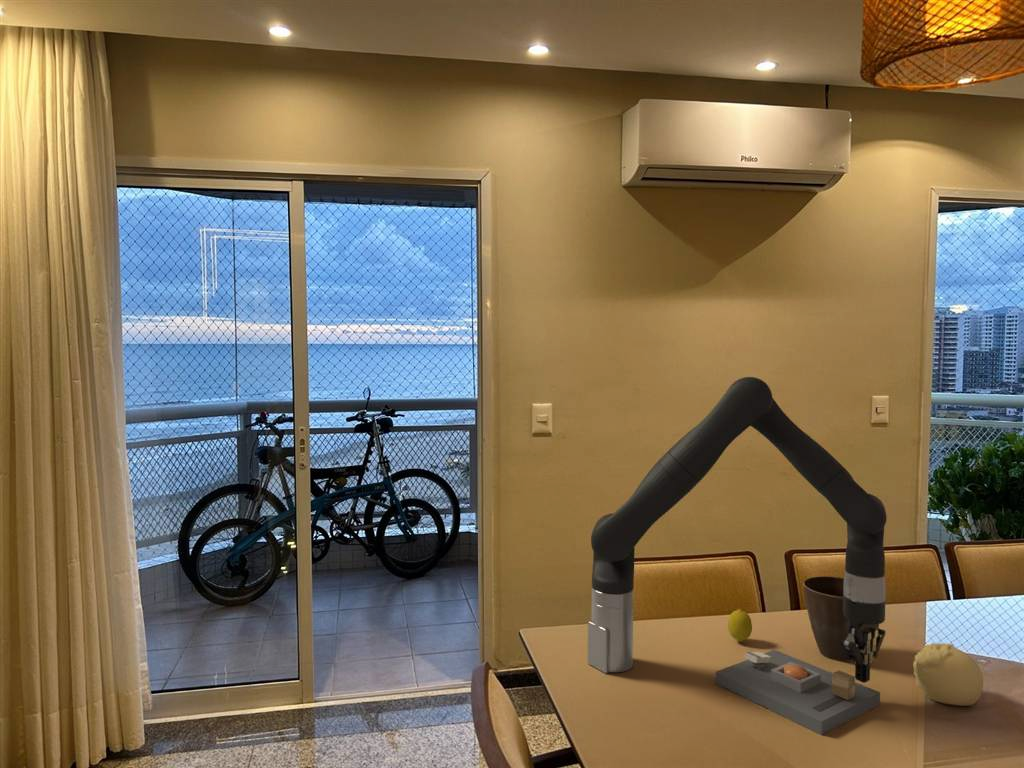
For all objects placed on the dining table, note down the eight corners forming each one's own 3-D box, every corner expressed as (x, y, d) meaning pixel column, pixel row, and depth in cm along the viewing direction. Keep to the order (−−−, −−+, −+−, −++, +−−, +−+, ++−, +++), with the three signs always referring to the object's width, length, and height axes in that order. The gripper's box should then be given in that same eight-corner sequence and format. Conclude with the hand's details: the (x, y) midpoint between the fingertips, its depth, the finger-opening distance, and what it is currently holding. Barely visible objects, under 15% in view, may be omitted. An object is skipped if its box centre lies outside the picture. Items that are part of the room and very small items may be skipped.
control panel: (821, 735, 125) (821, 710, 125) (715, 683, 145) (715, 662, 145) (879, 704, 136) (880, 682, 136) (774, 660, 156) (774, 641, 156)
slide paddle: (847, 700, 132) (847, 679, 132) (831, 693, 135) (832, 673, 135) (854, 696, 134) (854, 676, 134) (838, 690, 136) (839, 670, 136)
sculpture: (917, 679, 147) (918, 629, 147) (985, 697, 140) (986, 644, 139) (907, 699, 139) (908, 646, 138) (979, 719, 131) (980, 663, 131)
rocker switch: (756, 663, 145) (757, 656, 146) (744, 658, 148) (745, 651, 148) (770, 662, 148) (771, 656, 148) (758, 657, 151) (759, 651, 151)
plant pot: (866, 675, 149) (867, 602, 149) (794, 657, 158) (795, 588, 158) (878, 652, 161) (880, 584, 161) (811, 636, 170) (812, 572, 170)
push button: (798, 686, 138) (798, 676, 138) (779, 677, 141) (779, 668, 141) (811, 680, 140) (811, 670, 140) (792, 672, 144) (792, 662, 144)
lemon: (753, 647, 163) (753, 614, 163) (728, 645, 164) (729, 612, 164) (750, 638, 169) (750, 606, 168) (726, 636, 170) (727, 604, 170)
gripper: (863, 584, 144) (862, 665, 145) (827, 595, 137) (825, 681, 138) (900, 594, 138) (898, 679, 139) (864, 607, 131) (862, 697, 131)
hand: (862, 680), depth 138 cm, fingers closed
